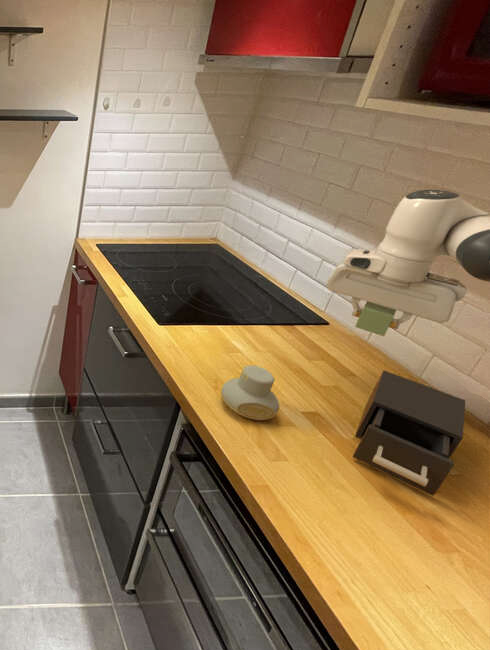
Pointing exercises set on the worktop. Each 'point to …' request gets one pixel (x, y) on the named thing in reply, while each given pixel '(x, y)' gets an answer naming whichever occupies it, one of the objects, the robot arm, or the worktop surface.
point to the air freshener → (252, 394)
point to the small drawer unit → (416, 406)
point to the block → (375, 318)
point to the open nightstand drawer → (406, 450)
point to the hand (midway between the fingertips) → (373, 321)
